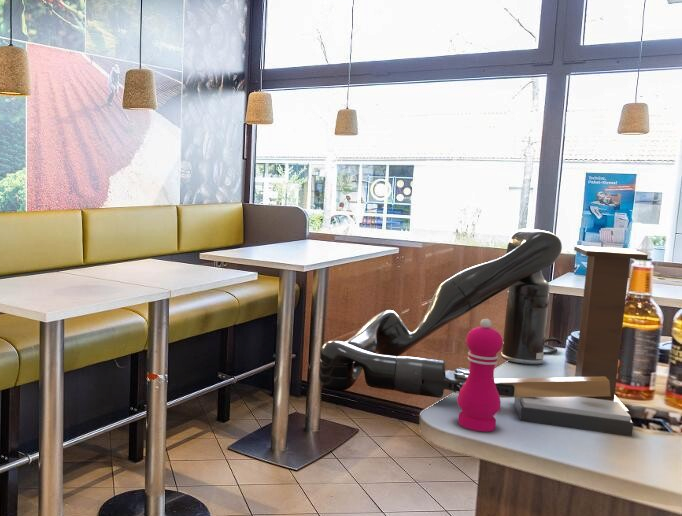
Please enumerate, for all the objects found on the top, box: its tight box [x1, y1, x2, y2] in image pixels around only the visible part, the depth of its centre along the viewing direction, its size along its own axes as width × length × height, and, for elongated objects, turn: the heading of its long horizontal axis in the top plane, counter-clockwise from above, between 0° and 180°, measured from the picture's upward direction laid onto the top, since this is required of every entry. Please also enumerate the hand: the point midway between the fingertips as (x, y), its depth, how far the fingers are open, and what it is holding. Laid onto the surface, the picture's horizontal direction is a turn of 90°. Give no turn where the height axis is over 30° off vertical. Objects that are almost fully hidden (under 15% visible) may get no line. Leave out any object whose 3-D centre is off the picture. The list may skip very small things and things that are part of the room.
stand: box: [573, 245, 649, 415], centre depth 140 cm, size 12×10×32 cm
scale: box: [513, 397, 634, 437], centre depth 133 cm, size 10×18×4 cm, turn 69°
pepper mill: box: [456, 318, 503, 433], centre depth 127 cm, size 7×7×20 cm
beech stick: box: [494, 376, 611, 399], centre depth 134 cm, size 3×22×3 cm, turn 69°
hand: (512, 388), depth 136 cm, fingers closed on beech stick, 3 cm apart
